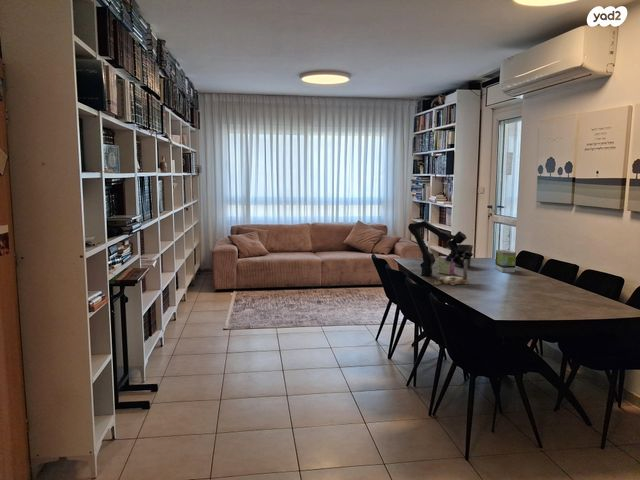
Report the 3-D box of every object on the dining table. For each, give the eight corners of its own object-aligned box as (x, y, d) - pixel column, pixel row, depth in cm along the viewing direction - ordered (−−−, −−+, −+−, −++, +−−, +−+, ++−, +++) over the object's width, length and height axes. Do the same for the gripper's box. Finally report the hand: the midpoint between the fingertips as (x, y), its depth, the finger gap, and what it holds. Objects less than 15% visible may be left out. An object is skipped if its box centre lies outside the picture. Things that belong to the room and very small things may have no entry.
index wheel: (437, 284, 316) (437, 261, 315) (437, 277, 336) (438, 256, 335) (468, 285, 312) (469, 262, 310) (466, 279, 332) (467, 257, 330)
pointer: (435, 284, 316) (435, 281, 316) (433, 284, 318) (433, 280, 318) (441, 284, 318) (441, 280, 318) (438, 283, 320) (438, 280, 320)
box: (454, 273, 352) (454, 257, 351) (449, 274, 349) (450, 258, 347) (442, 271, 360) (442, 255, 359) (437, 272, 357) (437, 256, 355)
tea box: (515, 272, 356) (516, 252, 354) (501, 272, 356) (502, 252, 354) (508, 268, 371) (508, 249, 369) (494, 268, 371) (495, 249, 369)
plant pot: (446, 265, 387) (447, 244, 385) (462, 263, 394) (463, 243, 392) (460, 268, 373) (461, 247, 371) (477, 266, 379) (477, 246, 377)
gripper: (449, 241, 320) (461, 260, 312) (471, 239, 329) (483, 258, 320) (441, 251, 328) (452, 270, 320) (462, 250, 336) (473, 268, 328)
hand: (465, 266), depth 321 cm, fingers open, 3 cm apart
